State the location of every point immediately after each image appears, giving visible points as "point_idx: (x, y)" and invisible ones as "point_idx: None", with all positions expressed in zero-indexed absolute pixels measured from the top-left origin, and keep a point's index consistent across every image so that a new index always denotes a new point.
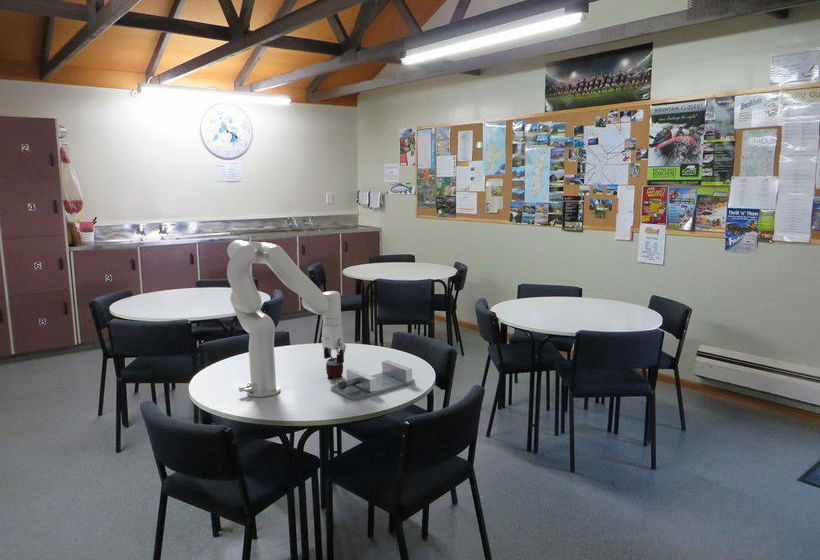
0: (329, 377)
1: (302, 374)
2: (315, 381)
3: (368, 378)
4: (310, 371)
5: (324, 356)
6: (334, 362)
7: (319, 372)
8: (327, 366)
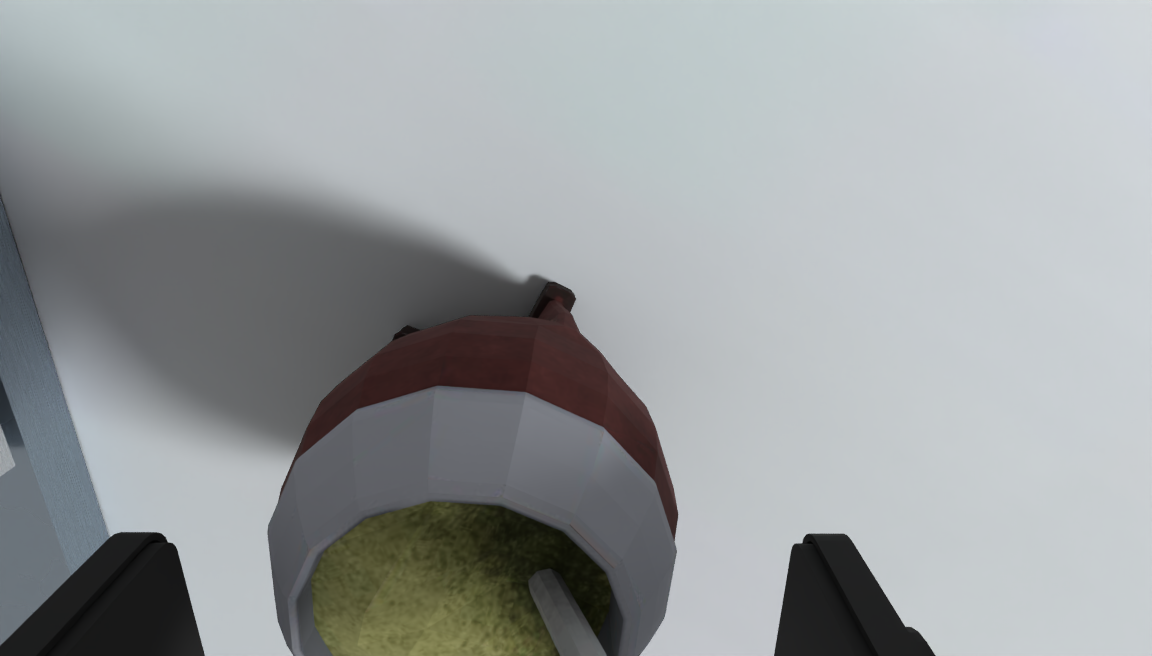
0: (535, 312)
1: (1098, 56)
2: (571, 26)
3: None
4: (1087, 263)
5: (847, 573)
6: (290, 533)
7: (914, 346)
8: (479, 356)
